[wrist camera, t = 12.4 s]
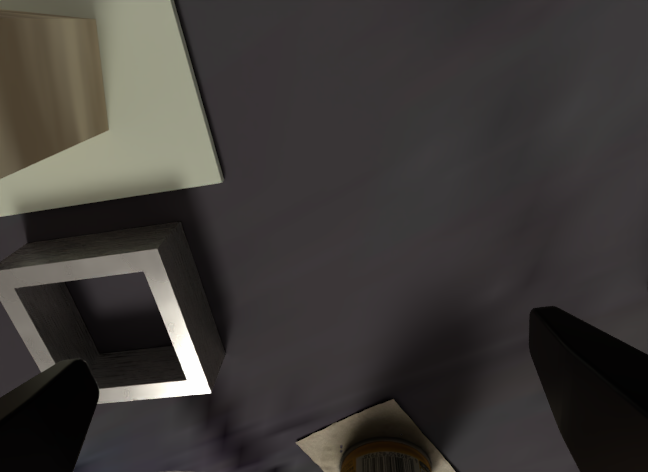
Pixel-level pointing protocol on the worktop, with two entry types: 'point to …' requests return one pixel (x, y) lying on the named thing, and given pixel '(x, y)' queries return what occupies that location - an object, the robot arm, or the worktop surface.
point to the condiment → (374, 444)
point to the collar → (71, 332)
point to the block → (47, 86)
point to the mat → (125, 114)
